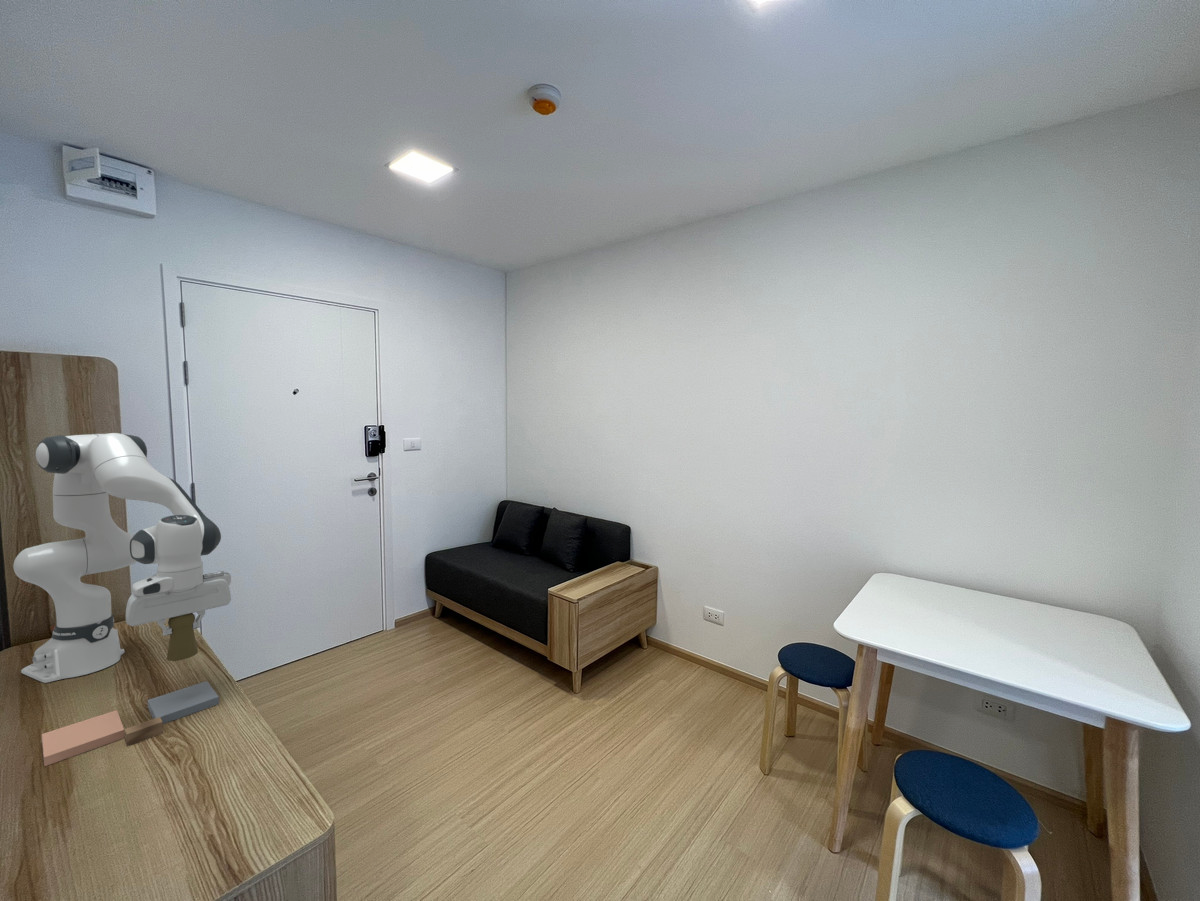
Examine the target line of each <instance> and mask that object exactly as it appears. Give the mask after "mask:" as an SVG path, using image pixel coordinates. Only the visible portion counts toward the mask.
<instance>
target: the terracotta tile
mask: <svg viewBox="0 0 1200 901" xmlns="http://www.w3.org/2000/svg"><path fill="white" fill-rule="evenodd" d="M122 739H125V728H124V726H123V722H122V720H121V718H120V715H119V713H118V709H116V710H112V711H110V712H106V713H104V714H101V715H96V716H93V717H91V718H88V719H85V720H82V721H78V722H75V723H72V724H68V725H65V726H63V727H59V728H57V729H54V730H53V729H52V730H51V731H50V730H49V731H47V732H45V733H42V734H41V744H42V753H43V764H44V765H43V767H47V766H50V765H53V764H56V763H58V762H61V761H64V760H66V759H69V758H72V757H75V756H78V755H81V754H84V753H86V752H89V751H92V750H95V749H98V748H100V747H103V746H107V745H109V744H111V743H114V742H117V741H119V740H122Z"/></svg>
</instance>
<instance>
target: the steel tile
mask: <svg viewBox="0 0 1200 901" xmlns="http://www.w3.org/2000/svg"><path fill="white" fill-rule="evenodd" d="M217 704H218V705H220V697H219V695H218V694H217V692H216V691H215V689H214V688H213V686H212V685H211V684H210V683H209V681H208V680H206V681H202V682H200V683H195V684H194V685H193V684H192V685H190V686H187V687H184V688H180V689H178V690H174V691H171V692H168V693H165V694H162V695H159V696H157V697H153V698H150V699H147V709H148V711H149V713H150V716H151V718H152V719H155V718H158V717H160V718H161V720H162V722H163V725H165V724H167V723H170V722H173V721H176V720H178V719H181V718H184V717H186V716H189V715H192V714H195V713H197V712H200V711H204V710H206V708H207V709H210V708H212V707H214V705H215V706H217ZM211 706H212V707H211Z"/></svg>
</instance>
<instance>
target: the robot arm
mask: <svg viewBox="0 0 1200 901" xmlns="http://www.w3.org/2000/svg"><path fill="white" fill-rule="evenodd" d="M147 457H148V449H147V445H146V443H145V441H144V439H142V438H141V437H139V436H137V435H132V434H123V433H118V432H111V433H110V432H109V433H91V434H73V435H63V434H61V435H53V436H49V437H44V438H43V439H42V440H40V441H39V442H38V443H37V445H36V449H35V460H36V462H37V465H38V466H39V468H41V469H42V470H43V471H44V472H46V473H51V474H54V477H53V481H52V482H53V484H52V513H53V514H52V516H53V520H54V521H55V522H56V523H57V524H58V525H61V526H63V527H67V528H69V529H70V528H71V529H75V530H80V531H83V532H84V534H85V537H81V538H77V539H67V540H60V541H51V542H47V543H42V544H38V545H34V546H30V547H27V548H24V549H23V550H21V551H20V552H19V553H18V554H17V555H16V557H15V558H14V561H13V568H12V569H13V571H14V573H15V575H16V577H18V578H19V579H20V580H22V581H24V582H26V583H29V584H32V585H35V586H38V587H39V588H42V589H43V590H44V591H46V593H48V594H49V596H50V597H51V599H52V600H53V604H54V608H55V609H54V610H55V618H56V624H54V625H51V626H50V631H52V635H51V638H50V639H49V640H47V641H46V642H45V643H43V644H42V645H40V646H39V647H38V648H36V650H35V651H34V653H33V656H32V662H33V663H31V664H29V665H27V666H25V667H23V668H22V669H21V670H20V673H21V674H23V675H25V676H27V677H30V678H31V679H34V680H36V681H39V682H40V683H44V684H46V683H47V684H48V683H51V682H55V681H58V680H59V681H60V680H63V679H71V678H76V677H81V676H84V675H88V674H93V673H95V672H98V671H101V670H104V669H106V668H108V667H111V666H113V665H115V664H116V663H118V662H119V661H121V656H122V655H123V654H125V649H124V648H121V643H120V638H119V632H118V629H117V628H114V626H115V618H114V614H113V613H112V595H111V592H110V590H109V589H108V588H107V587H104V586H102V585H97V584H90V583H85V582H82V581H81V578H82V577H83V576H87V575H93V574H99V573H104V572H110V571H116V570H119V569H122V568H125V567H129V566H132V565H134V564H136V563H140V564H142V565H155V564H157V568H156V574H153V575H151V576H148V577H146V578H144V579H140V580H138V581H136V582H134V583H133V584H132V587H131V589H132V594H131V595H130V596H129V598H128V600H127V602H126V608H125V623H126V624H127V626H128V625H129V626H130V627H136V626H140V625H145V624H149V623H150V624H151V623H153V622H156V624H157V625H158V626H159V627H160V628H161V629H162V635H163V637H167V636H170V635H171V634H172V632H171V631H172V628H170V627H169V626H166V625H165V624H166V620H167V619H168V620H169V619H170V618H172V617H177V616H181V615H185V614H190V613H193V614H194V613H196V615H197V616H196V617H195V621H194V623H193V624H192V625H193V630H195V629H199V628H201V622H202V620H203V618H204V617H205V616H206V615H205V614H206V610H207V611H208V610H212V609H216V608H220V607H224V606H228V605H229V604H230V602H232V596H231V595H232V594H231V590H230V589H231V588H230V585H231V584H232V576H231V574H230V573H228V572H225V571H223V570H222V571H218V572H211V573H207V574H206V573H204V564H203V560H202V556H208V555H210V554H211V553H213V551H214V550H215V549H216V548H217V547H218V545H219V544H220V543H221V540H222V534H221V530H220V529H219V527H218V525H217V524H215V523H214V521H213V520H211V519H210V518H209V517H207V516H206V515H205V514H204V512H203V511H202V510H201V509H200V508H199V506H198V505H197V504H196V503H195V502H194V500H192V498H191V497H190V496H189V495H188V493H187V491H185V489H183V488H182V486H181V485H180V484H179V483H178V482H177V481H176V480H174V479H172V478H170V477H168V476H165V475H164V474H162V473H161V472H160V471H158V470H157V469H156V468H154V467H153V466H152V464H151V463H150V462H149V460H148V458H147ZM109 495H110V496H113V497H116V498H119V499H123V500H130V501H131V500H132V501H140V502H149V503H155V504H157V505H158V504H159V505H161V506H164V508H165V507H166V508H167V509H168V510H169V511H170V512H171V514H172V515H168V516H165V517H162V518H161V519H159V520H158V522H157V524H155V525H153V526H149V527H147V528H144V529H140V530H139V531H137V532H136V533H135V534H134V535H133V534H131V533H129V532H126V531H125V530H123V529H122V528H120V527H119V526H118V525H117V524H116V522H115V521H114V520H113V518H112V517H113V516H112V515H111V514H112V513H111V508H110V498H109Z"/></svg>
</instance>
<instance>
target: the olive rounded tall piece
mask: <svg viewBox="0 0 1200 901" xmlns="http://www.w3.org/2000/svg"><path fill="white" fill-rule="evenodd" d="M195 620H196V616H195V614H194V613H190V614H185V615H181V616H177V617H172V618H168V621H167V625H168V627H170V628H172V631H171V632H172V634H171V635H169V641H168V642H169V643H168V648H167V654H166V661H169V662H178V661H182V660H183V661H184V660H186V659H189V658H192V657H195V655H197V654H198V652H199V651H198V646H197V641H196V636H195V631H194V630H195V629H193V625H192V624H193V623H194V621H195Z"/></svg>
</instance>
